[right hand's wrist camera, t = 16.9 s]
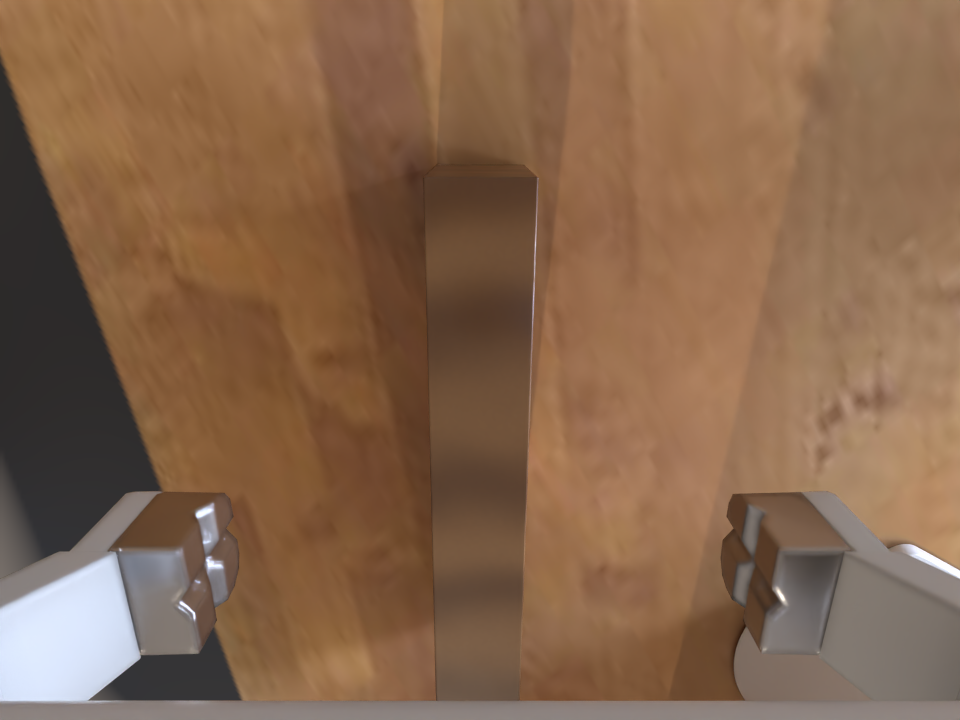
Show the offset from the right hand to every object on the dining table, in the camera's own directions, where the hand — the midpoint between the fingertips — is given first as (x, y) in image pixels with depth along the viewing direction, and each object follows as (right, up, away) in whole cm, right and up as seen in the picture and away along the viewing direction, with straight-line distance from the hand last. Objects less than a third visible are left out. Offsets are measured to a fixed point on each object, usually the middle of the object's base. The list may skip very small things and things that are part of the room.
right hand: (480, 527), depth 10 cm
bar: (0, 0, +27) cm, 27 cm away
